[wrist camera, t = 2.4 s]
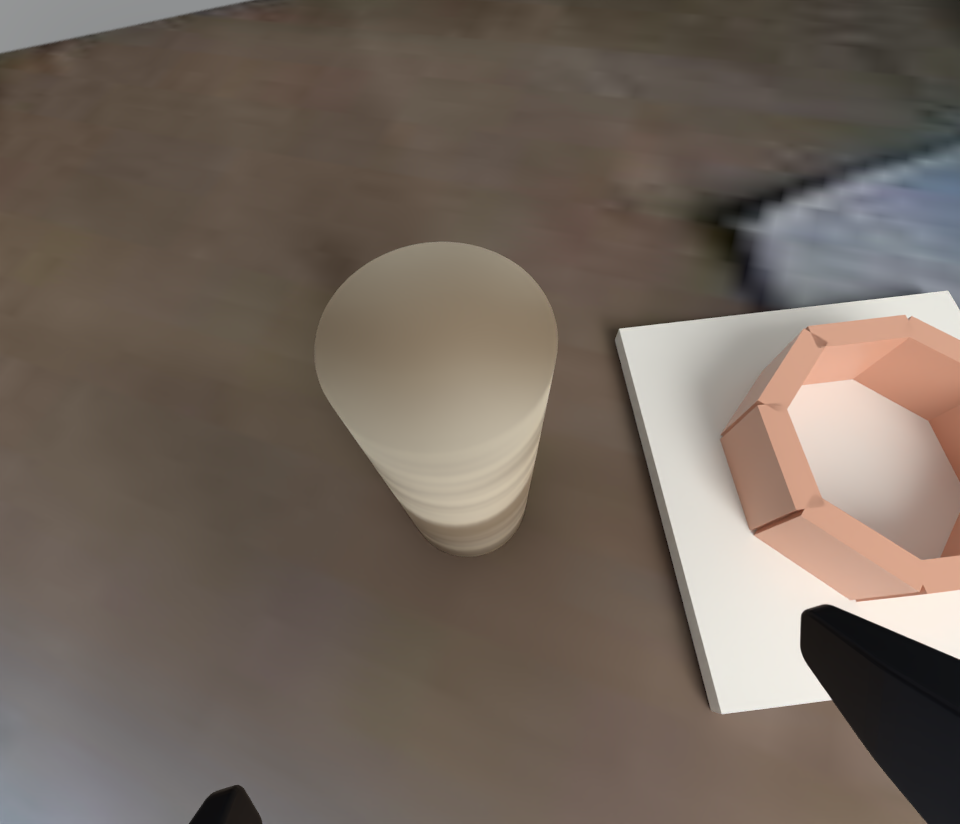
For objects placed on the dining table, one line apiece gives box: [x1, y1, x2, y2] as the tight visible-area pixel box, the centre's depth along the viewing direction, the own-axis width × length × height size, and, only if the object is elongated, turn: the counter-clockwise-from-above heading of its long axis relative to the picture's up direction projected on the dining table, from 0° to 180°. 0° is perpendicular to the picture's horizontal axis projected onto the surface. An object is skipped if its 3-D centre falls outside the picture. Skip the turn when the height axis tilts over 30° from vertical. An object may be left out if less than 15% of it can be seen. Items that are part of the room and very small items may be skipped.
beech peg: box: [314, 242, 558, 557], centre depth 17 cm, size 5×5×13 cm
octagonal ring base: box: [615, 291, 960, 714], centre depth 20 cm, size 16×16×4 cm
